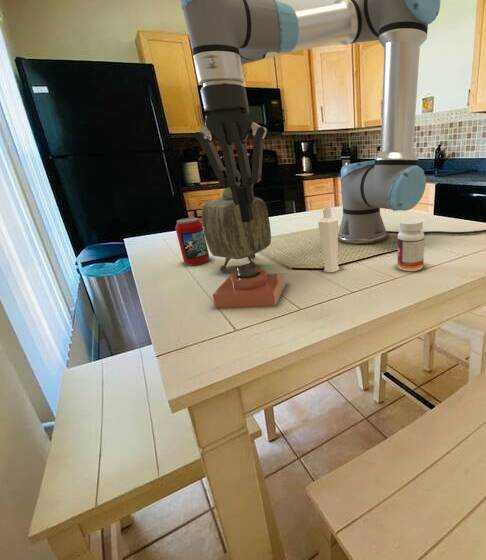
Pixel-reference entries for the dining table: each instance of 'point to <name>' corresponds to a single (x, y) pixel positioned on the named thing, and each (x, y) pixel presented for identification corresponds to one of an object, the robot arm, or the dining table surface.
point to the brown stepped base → (250, 290)
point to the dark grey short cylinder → (247, 271)
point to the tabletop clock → (235, 228)
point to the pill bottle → (410, 245)
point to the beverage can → (192, 241)
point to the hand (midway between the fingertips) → (248, 220)
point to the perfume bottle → (329, 240)
